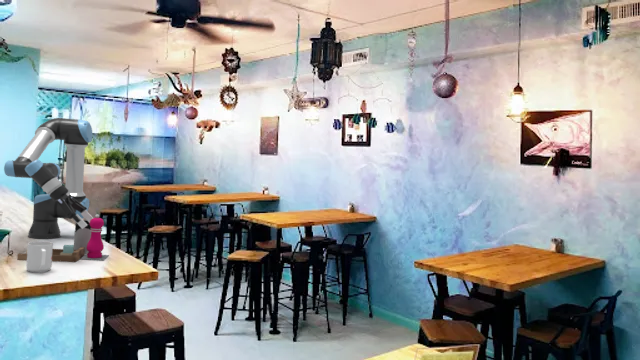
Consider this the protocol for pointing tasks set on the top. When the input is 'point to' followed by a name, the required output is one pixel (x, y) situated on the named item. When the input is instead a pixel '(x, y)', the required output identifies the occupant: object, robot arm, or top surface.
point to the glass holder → (82, 236)
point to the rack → (58, 257)
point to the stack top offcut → (68, 248)
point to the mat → (94, 258)
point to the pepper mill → (95, 238)
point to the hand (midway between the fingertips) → (89, 224)
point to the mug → (39, 256)
